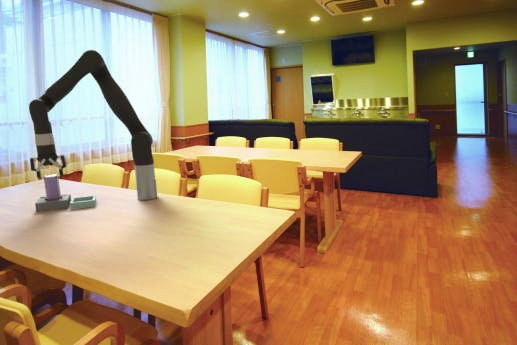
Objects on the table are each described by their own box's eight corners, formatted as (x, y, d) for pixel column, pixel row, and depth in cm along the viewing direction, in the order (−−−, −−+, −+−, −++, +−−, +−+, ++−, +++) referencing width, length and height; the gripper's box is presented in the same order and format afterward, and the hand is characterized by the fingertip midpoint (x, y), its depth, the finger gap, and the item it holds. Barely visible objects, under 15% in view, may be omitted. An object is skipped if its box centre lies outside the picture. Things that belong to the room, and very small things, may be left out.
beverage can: (56, 208, 170) (51, 177, 167) (45, 208, 171) (40, 176, 168) (65, 204, 176) (60, 174, 173) (54, 204, 177) (50, 174, 174)
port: (71, 201, 181) (70, 192, 181) (68, 208, 170) (67, 198, 169) (41, 205, 177) (40, 196, 176) (36, 212, 165) (34, 202, 164)
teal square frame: (96, 201, 181) (95, 195, 180) (95, 206, 171) (94, 200, 171) (73, 203, 177) (72, 197, 176) (70, 209, 167) (69, 203, 167)
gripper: (63, 141, 173) (68, 175, 176) (29, 144, 168) (35, 178, 172) (61, 143, 166) (66, 177, 170) (25, 145, 162) (31, 181, 165)
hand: (50, 178), depth 171 cm, fingers open, 8 cm apart
